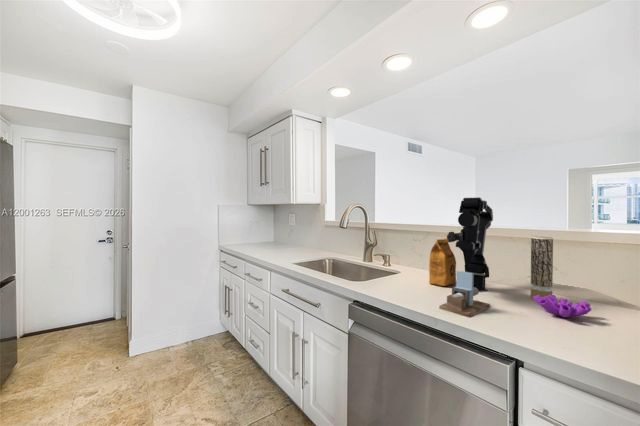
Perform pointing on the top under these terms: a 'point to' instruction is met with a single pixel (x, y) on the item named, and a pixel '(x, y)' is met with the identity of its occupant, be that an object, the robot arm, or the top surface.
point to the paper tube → (541, 266)
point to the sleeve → (465, 283)
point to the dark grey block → (467, 292)
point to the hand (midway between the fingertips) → (466, 264)
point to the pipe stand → (463, 304)
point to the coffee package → (442, 264)
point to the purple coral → (562, 306)
